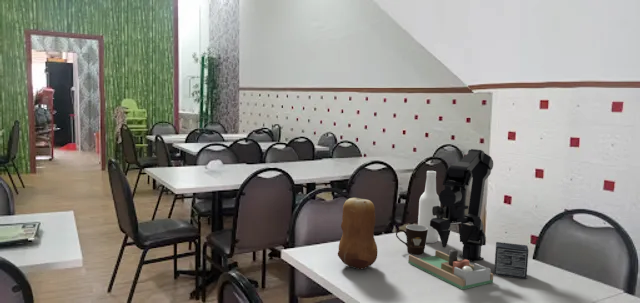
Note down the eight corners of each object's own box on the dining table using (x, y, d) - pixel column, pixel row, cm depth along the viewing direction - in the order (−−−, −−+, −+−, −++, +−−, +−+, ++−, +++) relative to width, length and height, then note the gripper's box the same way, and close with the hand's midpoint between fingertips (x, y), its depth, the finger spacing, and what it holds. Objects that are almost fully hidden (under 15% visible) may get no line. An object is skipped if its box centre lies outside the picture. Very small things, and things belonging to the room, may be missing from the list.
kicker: (452, 266, 173) (453, 247, 172) (468, 273, 166) (469, 253, 166) (439, 268, 170) (441, 249, 169) (455, 276, 163) (456, 256, 163)
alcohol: (417, 242, 204) (421, 172, 201) (416, 236, 213) (420, 169, 210) (438, 244, 203) (443, 173, 199) (437, 238, 212) (441, 170, 208)
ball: (476, 267, 162) (475, 278, 162) (467, 263, 165) (466, 275, 166) (467, 268, 160) (466, 280, 160) (458, 265, 164) (458, 276, 164)
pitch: (437, 257, 186) (437, 245, 185) (492, 282, 162) (493, 268, 162) (408, 262, 179) (408, 249, 178) (462, 289, 156) (463, 274, 155)
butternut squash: (369, 259, 181) (371, 194, 178) (382, 272, 168) (385, 202, 165) (333, 261, 178) (335, 195, 175) (343, 275, 165) (346, 203, 162)
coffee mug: (429, 251, 193) (431, 227, 192) (422, 257, 186) (423, 231, 185) (402, 246, 199) (403, 222, 198) (394, 251, 192) (395, 226, 191)
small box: (525, 273, 172) (527, 244, 171) (526, 279, 166) (529, 250, 165) (494, 269, 175) (496, 240, 174) (494, 275, 169) (496, 246, 168)
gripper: (459, 195, 177) (457, 236, 179) (420, 199, 168) (417, 242, 170) (483, 201, 168) (480, 245, 169) (442, 205, 159) (440, 252, 160)
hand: (454, 246), depth 168 cm, fingers open, 9 cm apart
